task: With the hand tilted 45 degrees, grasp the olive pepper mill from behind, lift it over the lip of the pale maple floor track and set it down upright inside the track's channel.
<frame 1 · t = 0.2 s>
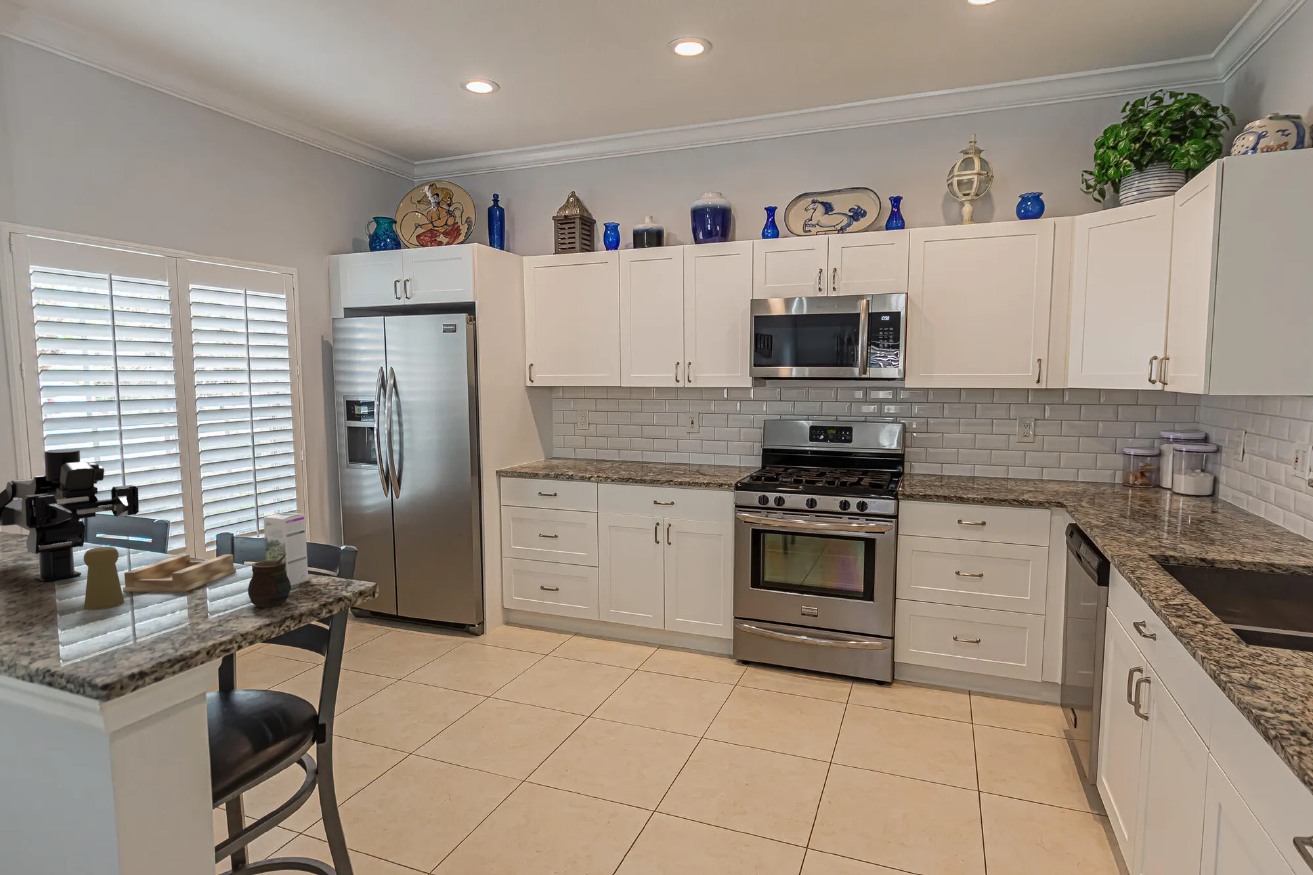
hand: (99, 511, 140), 17 cm above the counter, tool horizontal, fingers open, 9 cm apart
track: (182, 580, 152), on the counter
olive pepper mill: (104, 605, 135), on the counter
mate gourd: (271, 605, 135), on the counter
syrup box: (287, 583, 150), on the counter
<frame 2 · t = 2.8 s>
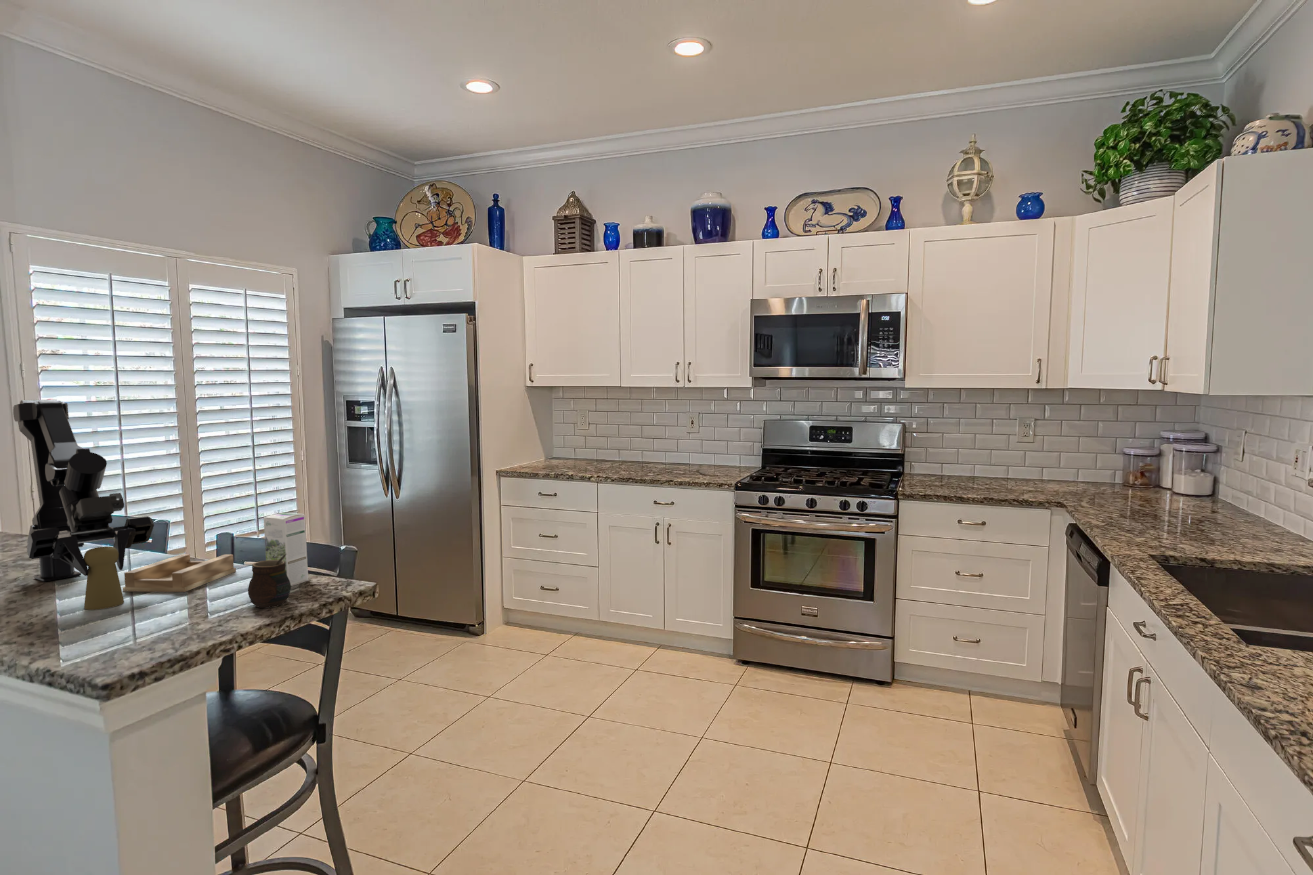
hand: (104, 571, 134), 7 cm above the counter, tool tilted 45°, fingers closed on olive pepper mill, 5 cm apart
olive pepper mill: (104, 605, 135), on the counter, touching gripper
everything else where it was.
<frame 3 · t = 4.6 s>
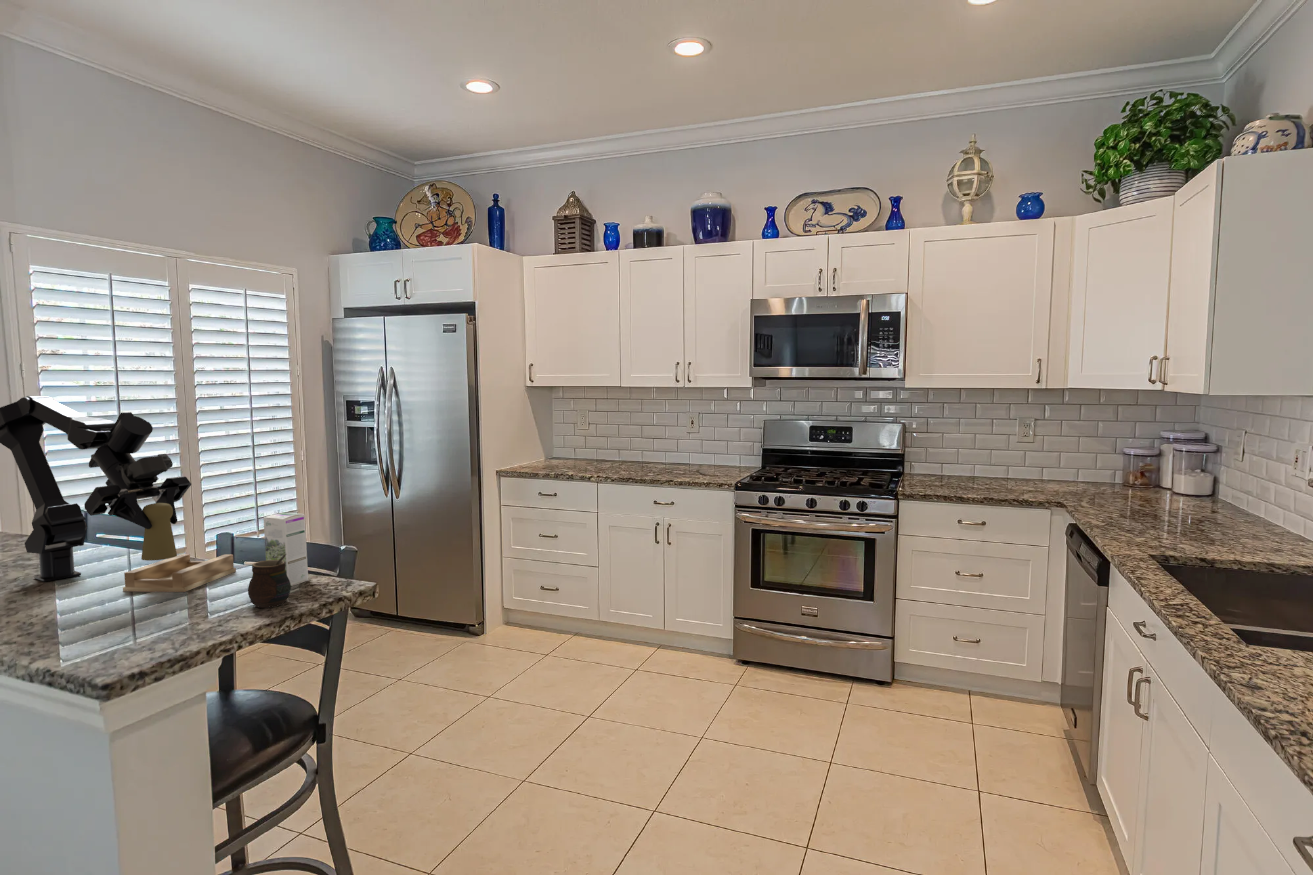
hand: (163, 525, 145), 13 cm above the counter, tool tilted 45°, fingers closed on olive pepper mill, 5 cm apart
olive pepper mill: (159, 557, 146), point 6 cm above the counter, touching gripper
everything else where it was.
when the fingers open (9 cm above the counter, at t = 6.2 s): olive pepper mill drops 1 cm, resting on track.
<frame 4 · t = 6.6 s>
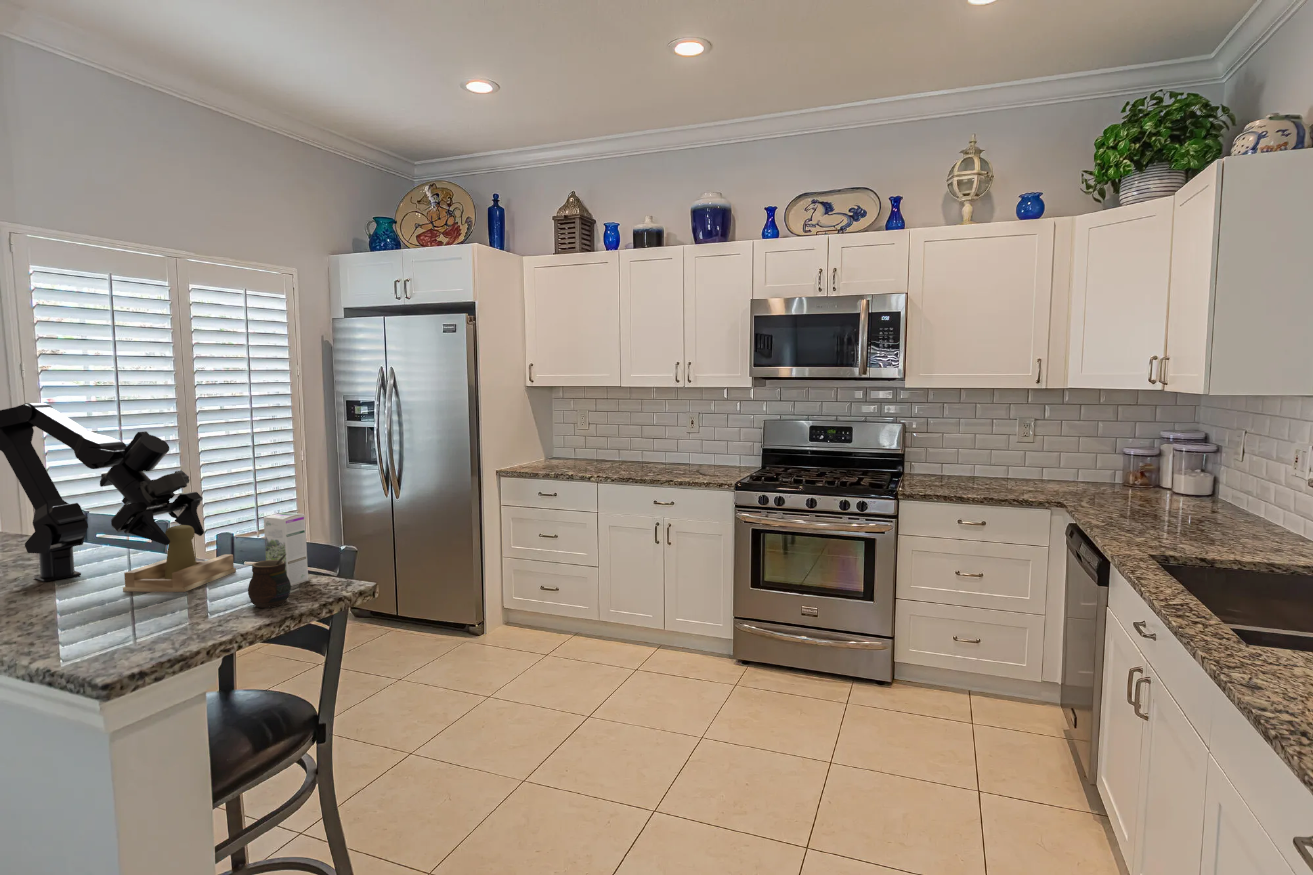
hand: (186, 538, 151), 9 cm above the counter, tool tilted 45°, fingers open, 9 cm apart
olive pepper mill: (181, 577, 152), point 1 cm above the counter, touching track
everything else where it was.
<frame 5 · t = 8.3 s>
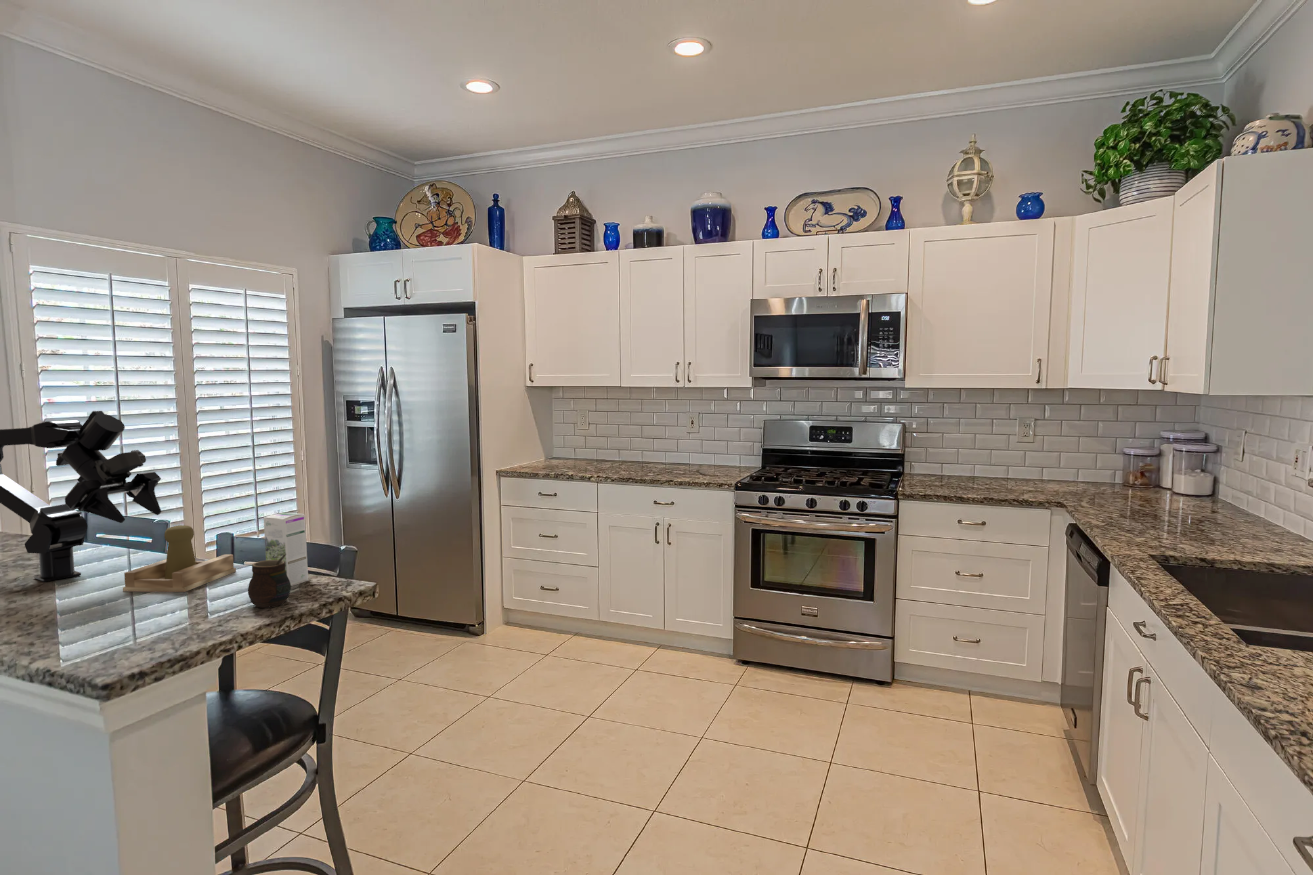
hand: (141, 517, 152), 14 cm above the counter, tool tilted 45°, fingers open, 9 cm apart
nothing on the counter moved.
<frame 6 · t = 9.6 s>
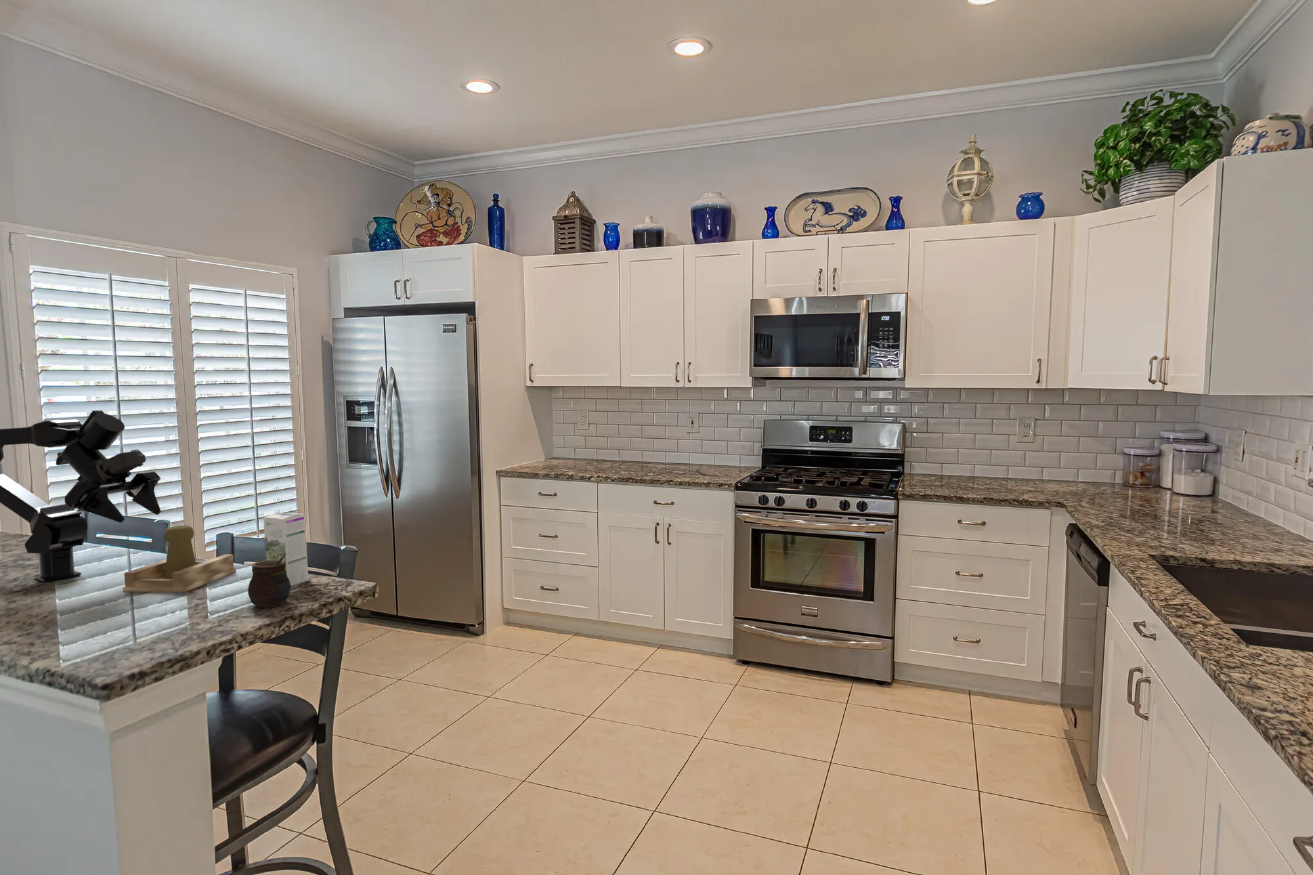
hand: (141, 517, 152), 14 cm above the counter, tool tilted 45°, fingers open, 9 cm apart
nothing on the counter moved.
at the end: olive pepper mill 0.1 cm from the track (horizontally); olive pepper mill point 0.6 cm above the counter; olive pepper mill tilted 0° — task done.
